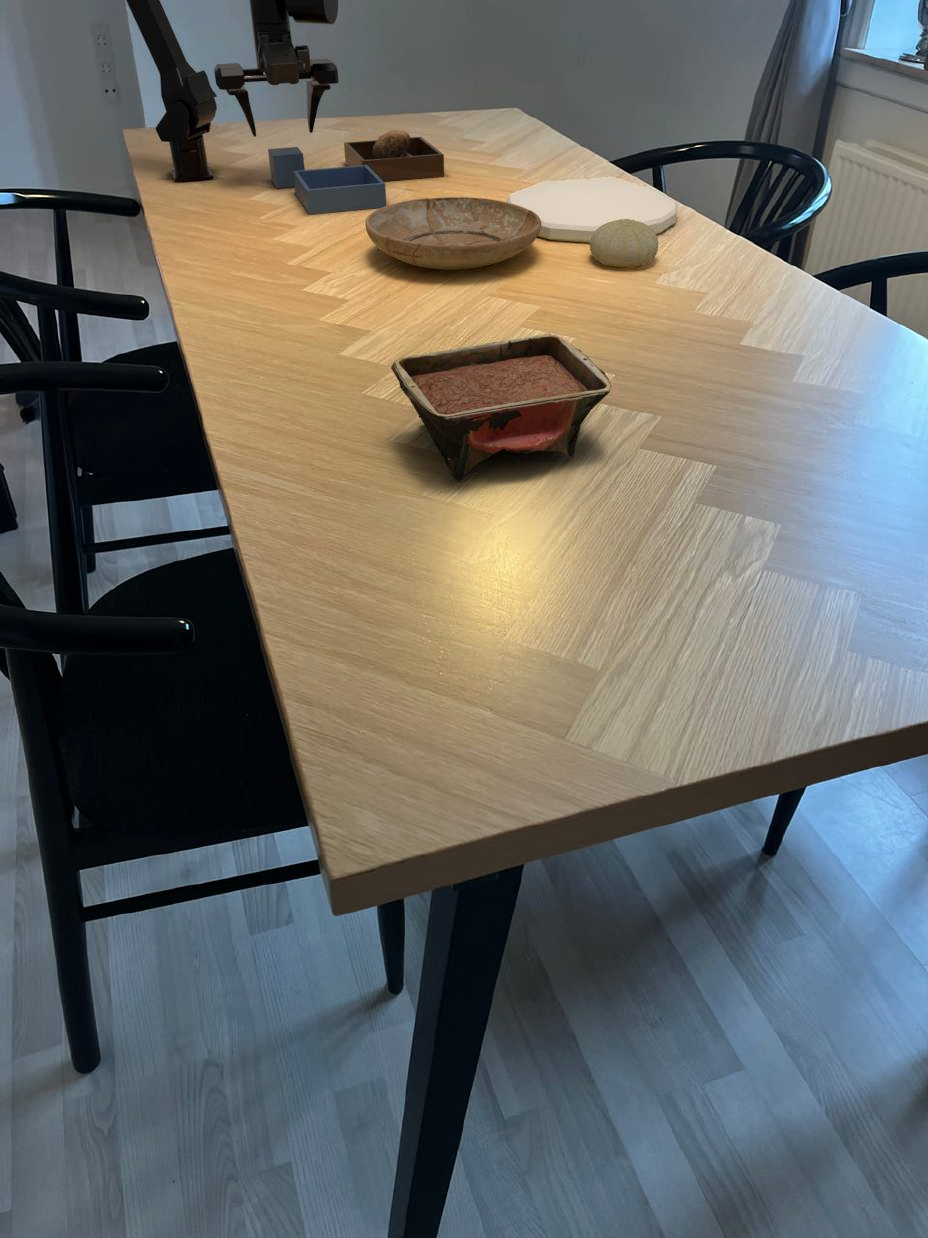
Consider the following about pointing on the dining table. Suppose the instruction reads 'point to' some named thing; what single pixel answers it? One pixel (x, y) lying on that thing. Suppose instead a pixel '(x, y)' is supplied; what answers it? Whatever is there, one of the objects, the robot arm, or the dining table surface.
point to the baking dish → (502, 397)
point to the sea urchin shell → (624, 243)
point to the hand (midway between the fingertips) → (283, 134)
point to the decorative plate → (593, 206)
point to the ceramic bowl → (452, 231)
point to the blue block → (285, 165)
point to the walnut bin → (398, 160)
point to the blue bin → (339, 189)
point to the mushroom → (391, 145)
